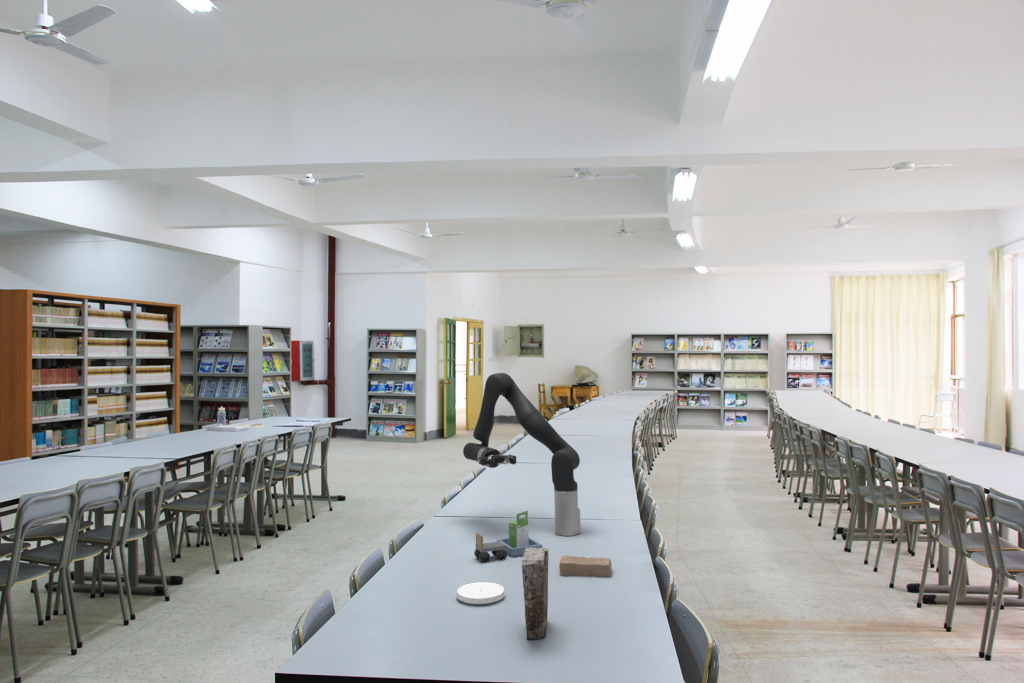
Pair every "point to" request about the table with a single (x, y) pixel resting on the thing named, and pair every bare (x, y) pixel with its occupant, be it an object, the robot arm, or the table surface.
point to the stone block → (535, 591)
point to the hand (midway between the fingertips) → (504, 462)
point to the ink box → (519, 531)
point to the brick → (585, 566)
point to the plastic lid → (480, 593)
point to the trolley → (489, 549)
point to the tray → (519, 550)
